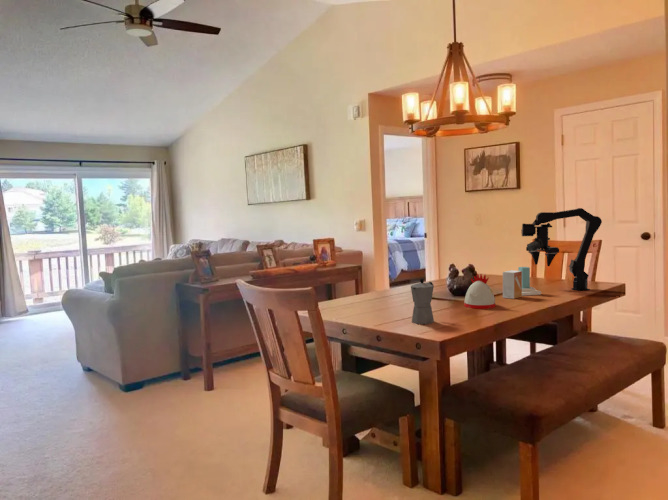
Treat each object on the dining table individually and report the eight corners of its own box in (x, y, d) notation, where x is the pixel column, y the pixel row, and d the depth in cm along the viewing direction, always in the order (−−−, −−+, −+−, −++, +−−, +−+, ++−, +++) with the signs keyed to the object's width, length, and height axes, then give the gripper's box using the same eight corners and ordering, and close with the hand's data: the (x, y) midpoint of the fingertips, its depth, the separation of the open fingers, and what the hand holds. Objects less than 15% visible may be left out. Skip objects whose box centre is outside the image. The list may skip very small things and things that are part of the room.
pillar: (525, 289, 271) (525, 266, 270) (529, 290, 267) (529, 267, 266) (518, 290, 271) (518, 267, 270) (522, 291, 267) (522, 268, 266)
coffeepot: (424, 326, 206) (423, 281, 204) (404, 323, 212) (403, 279, 210) (443, 319, 217) (442, 276, 216) (423, 316, 223) (422, 275, 222)
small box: (514, 299, 255) (514, 272, 254) (502, 297, 259) (502, 271, 258) (522, 296, 260) (522, 270, 259) (510, 295, 265) (510, 270, 264)
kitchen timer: (490, 309, 232) (489, 276, 231) (460, 307, 240) (459, 275, 239) (498, 304, 244) (498, 272, 243) (470, 302, 251) (469, 271, 250)
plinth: (529, 290, 276) (529, 285, 276) (541, 294, 264) (541, 288, 264) (507, 292, 274) (507, 286, 274) (518, 295, 263) (518, 290, 262)
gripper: (518, 236, 282) (518, 264, 283) (542, 237, 264) (542, 268, 265) (534, 235, 285) (534, 263, 287) (560, 236, 268) (559, 266, 269)
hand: (542, 265), depth 277 cm, fingers open, 9 cm apart
